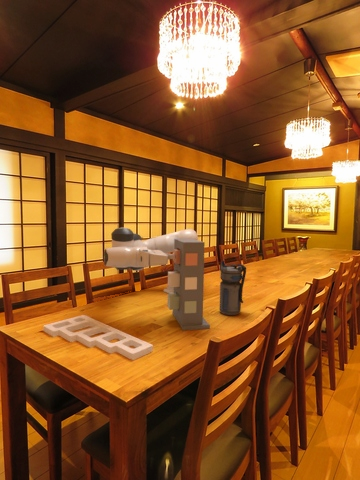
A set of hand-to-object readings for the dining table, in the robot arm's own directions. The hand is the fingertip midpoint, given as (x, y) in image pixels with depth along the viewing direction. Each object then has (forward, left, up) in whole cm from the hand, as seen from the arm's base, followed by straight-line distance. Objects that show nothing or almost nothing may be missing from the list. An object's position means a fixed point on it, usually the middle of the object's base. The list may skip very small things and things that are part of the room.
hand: (174, 256), depth 129 cm
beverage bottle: (+15, +27, -29) cm, 42 cm away
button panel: (+5, +6, -29) cm, 30 cm away
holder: (-10, -35, -30) cm, 47 cm away
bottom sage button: (0, +1, -23) cm, 23 cm away
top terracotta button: (+2, +2, -3) cm, 4 cm away
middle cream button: (0, +1, -13) cm, 13 cm away
